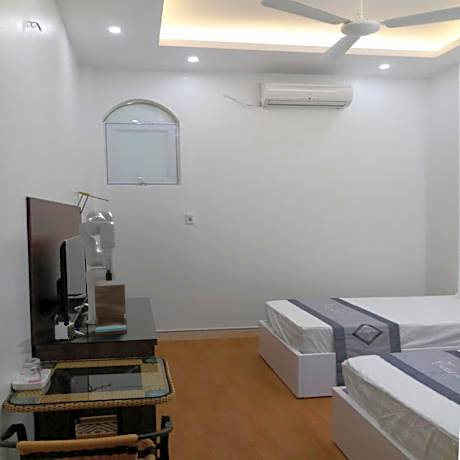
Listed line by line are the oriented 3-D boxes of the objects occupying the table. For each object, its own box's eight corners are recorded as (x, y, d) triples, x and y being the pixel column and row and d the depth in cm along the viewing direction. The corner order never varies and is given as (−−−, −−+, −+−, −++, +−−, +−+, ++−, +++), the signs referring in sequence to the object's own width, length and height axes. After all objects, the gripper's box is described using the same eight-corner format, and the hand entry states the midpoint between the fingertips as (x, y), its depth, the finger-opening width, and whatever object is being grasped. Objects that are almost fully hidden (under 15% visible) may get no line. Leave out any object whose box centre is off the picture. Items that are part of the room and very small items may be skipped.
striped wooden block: (96, 330, 271) (94, 286, 270) (126, 327, 275) (124, 284, 274) (95, 336, 256) (93, 289, 256) (127, 333, 260) (125, 287, 260)
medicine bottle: (68, 339, 251) (67, 316, 250) (55, 339, 252) (54, 316, 252) (75, 336, 258) (74, 313, 257) (62, 336, 259) (61, 313, 259)
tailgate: (95, 327, 255) (95, 330, 246) (126, 324, 259) (126, 327, 249) (95, 329, 255) (95, 332, 246) (126, 327, 259) (126, 329, 249)
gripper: (100, 244, 266) (101, 279, 266) (99, 246, 251) (101, 283, 252) (115, 244, 267) (116, 278, 268) (115, 246, 253) (116, 282, 254)
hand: (109, 280), depth 260 cm, fingers closed
